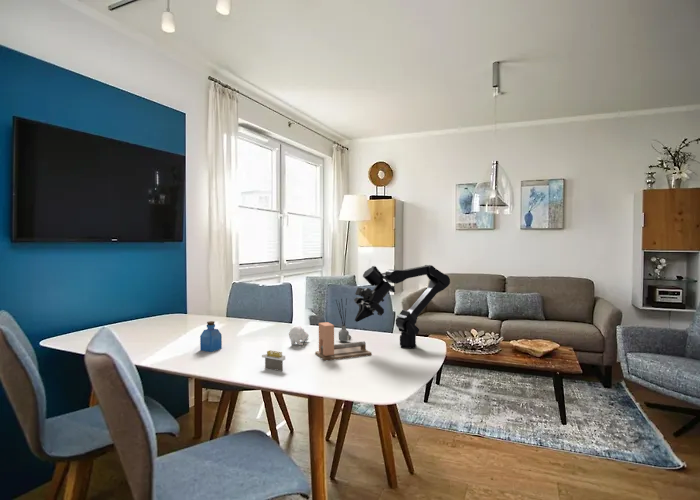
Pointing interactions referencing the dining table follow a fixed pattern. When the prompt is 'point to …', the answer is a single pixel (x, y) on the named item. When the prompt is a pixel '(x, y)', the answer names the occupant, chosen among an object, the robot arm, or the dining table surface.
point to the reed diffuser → (343, 327)
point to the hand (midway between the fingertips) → (355, 321)
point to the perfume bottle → (210, 338)
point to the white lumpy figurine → (298, 335)
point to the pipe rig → (346, 351)
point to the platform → (274, 360)
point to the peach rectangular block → (326, 338)
